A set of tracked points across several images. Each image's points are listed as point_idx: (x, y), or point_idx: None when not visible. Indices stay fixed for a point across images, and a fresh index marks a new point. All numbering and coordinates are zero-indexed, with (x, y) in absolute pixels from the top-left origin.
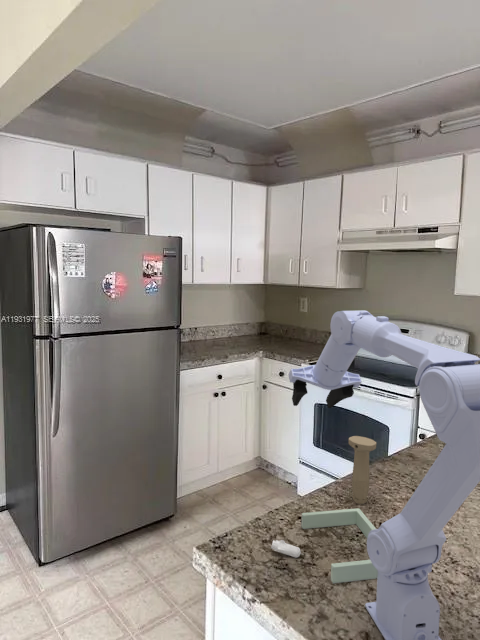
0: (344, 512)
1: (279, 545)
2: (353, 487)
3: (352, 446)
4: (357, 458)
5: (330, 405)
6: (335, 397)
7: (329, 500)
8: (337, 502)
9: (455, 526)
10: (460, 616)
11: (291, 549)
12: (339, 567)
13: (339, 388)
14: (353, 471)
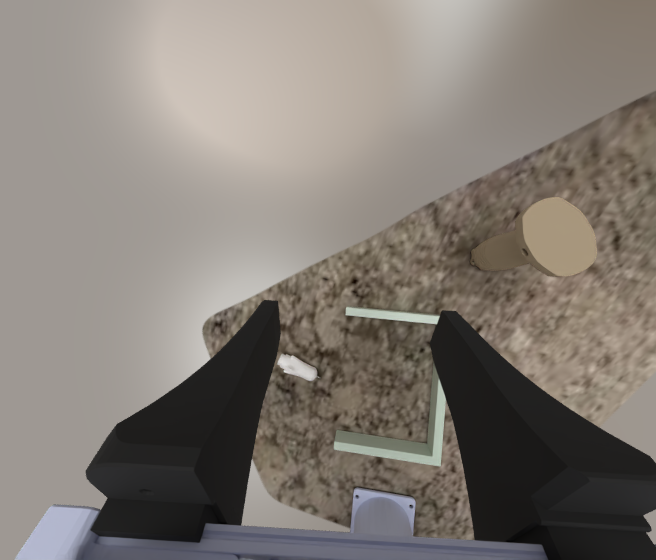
0: (419, 322)
1: (286, 368)
2: (477, 255)
3: (516, 240)
4: (513, 252)
5: (436, 367)
6: (461, 422)
7: (427, 241)
8: (439, 251)
9: (608, 372)
10: (461, 539)
11: (302, 377)
12: (342, 449)
13: (494, 504)
14: (492, 247)
